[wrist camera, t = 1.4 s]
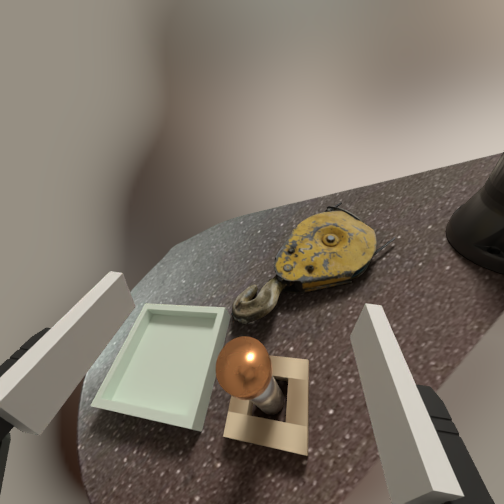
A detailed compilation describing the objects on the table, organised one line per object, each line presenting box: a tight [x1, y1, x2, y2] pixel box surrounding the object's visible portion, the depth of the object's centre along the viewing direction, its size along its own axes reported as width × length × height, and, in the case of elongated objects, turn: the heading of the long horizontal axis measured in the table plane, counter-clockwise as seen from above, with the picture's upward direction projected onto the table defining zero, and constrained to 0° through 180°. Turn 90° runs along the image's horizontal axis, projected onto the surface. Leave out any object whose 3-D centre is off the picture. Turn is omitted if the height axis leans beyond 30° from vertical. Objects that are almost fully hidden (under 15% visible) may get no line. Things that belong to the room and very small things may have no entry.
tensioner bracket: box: [223, 356, 309, 456], centre depth 27 cm, size 9×9×2 cm
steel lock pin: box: [216, 336, 284, 415], centre depth 23 cm, size 4×4×14 cm
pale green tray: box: [91, 303, 231, 432], centre depth 33 cm, size 15×15×3 cm
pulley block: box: [231, 203, 396, 324], centre depth 38 cm, size 14×6×30 cm
